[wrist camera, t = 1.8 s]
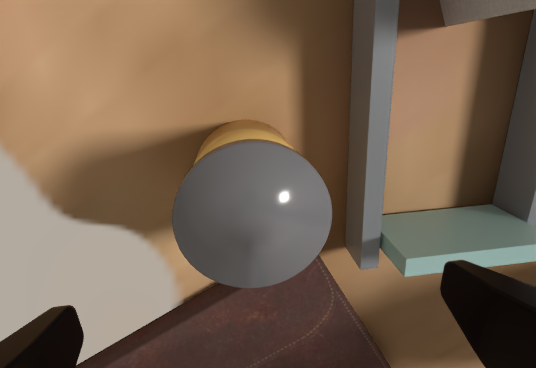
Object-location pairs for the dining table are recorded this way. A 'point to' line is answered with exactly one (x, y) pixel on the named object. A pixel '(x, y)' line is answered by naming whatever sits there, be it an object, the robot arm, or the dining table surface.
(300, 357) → the notebook
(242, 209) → the jar
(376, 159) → the lane
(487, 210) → the bar
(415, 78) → the dining table surface
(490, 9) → the grey angular block
